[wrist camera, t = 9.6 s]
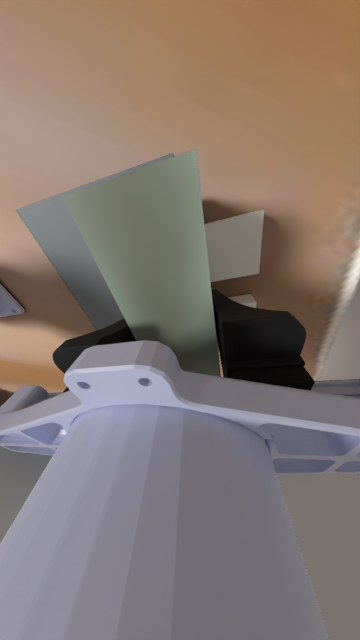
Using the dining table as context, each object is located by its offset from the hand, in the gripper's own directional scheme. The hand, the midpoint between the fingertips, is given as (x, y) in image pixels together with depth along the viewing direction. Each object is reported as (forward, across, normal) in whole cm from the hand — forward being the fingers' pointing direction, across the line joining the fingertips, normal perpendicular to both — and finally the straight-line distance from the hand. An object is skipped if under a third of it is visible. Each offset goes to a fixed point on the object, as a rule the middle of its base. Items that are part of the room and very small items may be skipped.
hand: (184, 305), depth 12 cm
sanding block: (+2, 0, 0) cm, 2 cm away
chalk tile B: (+3, -4, -3) cm, 6 cm away
